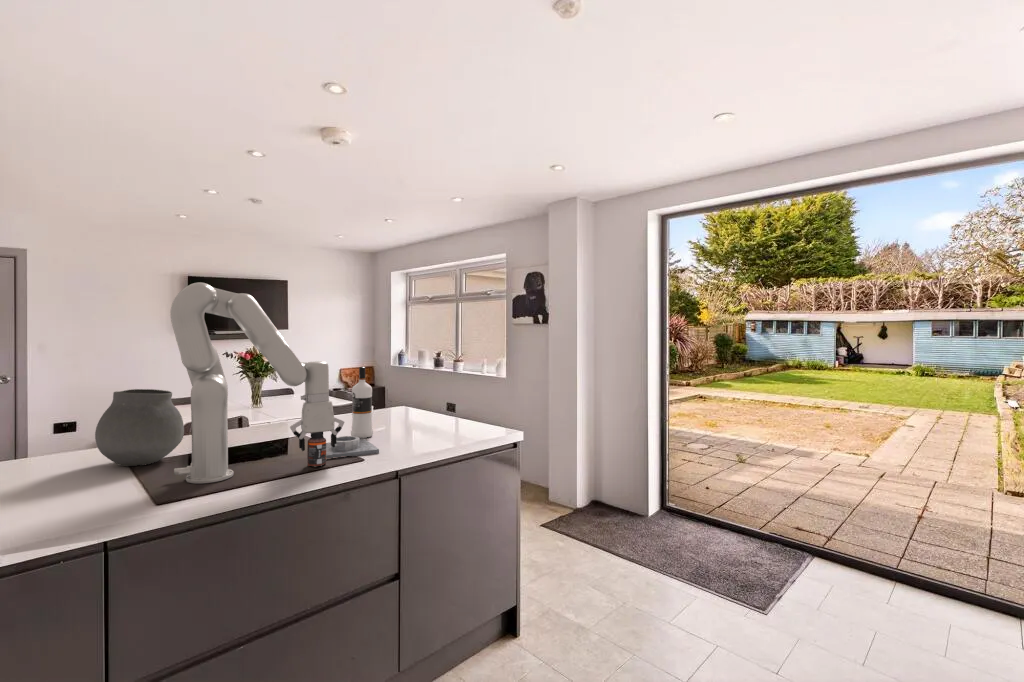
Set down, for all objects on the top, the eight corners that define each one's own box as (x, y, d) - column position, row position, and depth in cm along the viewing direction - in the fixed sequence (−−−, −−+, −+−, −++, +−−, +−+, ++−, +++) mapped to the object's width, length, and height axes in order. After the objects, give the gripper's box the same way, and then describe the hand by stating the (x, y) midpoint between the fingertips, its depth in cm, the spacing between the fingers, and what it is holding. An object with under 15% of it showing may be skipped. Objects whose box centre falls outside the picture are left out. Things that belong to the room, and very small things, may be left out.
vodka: (375, 437, 214) (376, 367, 213) (354, 439, 209) (354, 368, 208) (369, 433, 222) (369, 365, 221) (348, 435, 217) (348, 366, 216)
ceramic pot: (182, 466, 166) (181, 392, 166) (87, 477, 154) (86, 396, 153) (185, 451, 187) (185, 384, 187) (103, 459, 175) (102, 387, 174)
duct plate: (322, 460, 176) (322, 447, 176) (312, 448, 194) (312, 436, 193) (379, 453, 187) (379, 441, 187) (364, 442, 204) (364, 431, 204)
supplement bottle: (324, 467, 167) (324, 433, 167) (305, 468, 166) (305, 434, 166) (327, 462, 173) (327, 430, 173) (309, 463, 172) (309, 430, 172)
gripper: (291, 401, 162) (292, 454, 162) (346, 397, 170) (346, 447, 171) (287, 398, 168) (289, 449, 169) (341, 394, 177) (341, 442, 177)
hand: (318, 448), depth 170 cm, fingers open, 9 cm apart
